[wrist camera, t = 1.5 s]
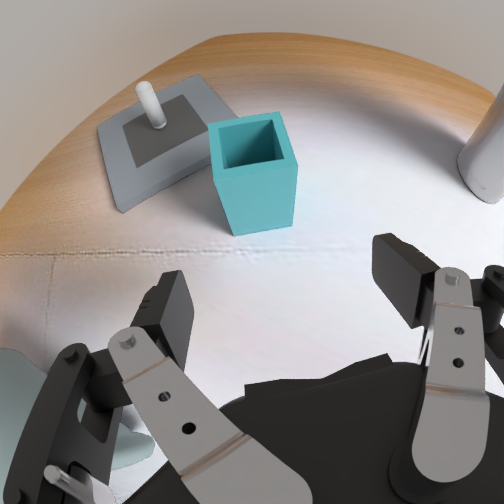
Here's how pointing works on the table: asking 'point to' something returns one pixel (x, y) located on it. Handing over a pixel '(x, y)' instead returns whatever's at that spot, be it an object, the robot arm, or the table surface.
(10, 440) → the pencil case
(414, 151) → the table surface
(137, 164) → the post plate
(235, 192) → the teal square container
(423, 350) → the robot arm
